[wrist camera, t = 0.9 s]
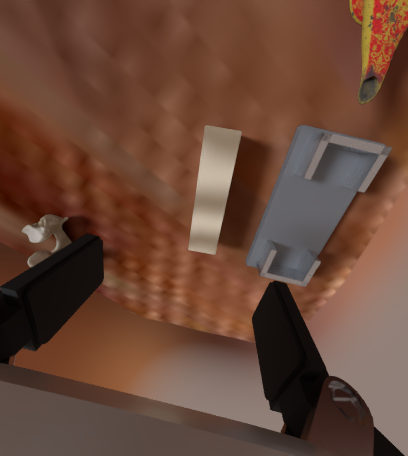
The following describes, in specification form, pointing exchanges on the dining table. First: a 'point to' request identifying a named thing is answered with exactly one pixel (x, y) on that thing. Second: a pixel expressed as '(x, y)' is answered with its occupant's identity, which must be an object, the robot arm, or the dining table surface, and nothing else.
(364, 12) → the magic lamp
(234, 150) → the birch slat
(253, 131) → the dining table surface
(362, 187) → the grey long frame
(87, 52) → the dining table surface
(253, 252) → the slat tray
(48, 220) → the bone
